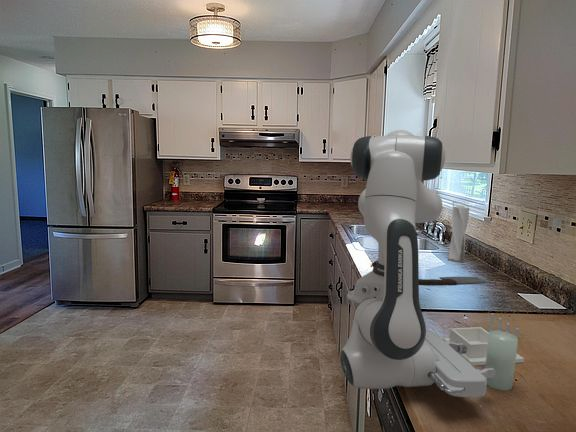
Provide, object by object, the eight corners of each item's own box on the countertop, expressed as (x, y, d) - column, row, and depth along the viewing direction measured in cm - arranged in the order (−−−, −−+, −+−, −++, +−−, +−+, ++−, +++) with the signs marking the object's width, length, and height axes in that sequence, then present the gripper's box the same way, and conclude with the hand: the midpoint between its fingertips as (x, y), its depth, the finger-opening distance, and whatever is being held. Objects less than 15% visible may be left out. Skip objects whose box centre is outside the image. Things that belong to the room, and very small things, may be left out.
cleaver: (422, 288, 146) (422, 282, 146) (408, 279, 156) (409, 274, 155) (489, 284, 153) (489, 279, 152) (472, 277, 162) (472, 272, 162)
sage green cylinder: (480, 383, 84) (485, 336, 83) (487, 373, 88) (492, 328, 87) (508, 394, 81) (514, 344, 79) (514, 382, 85) (520, 335, 83)
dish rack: (470, 365, 91) (473, 334, 90) (443, 341, 103) (445, 313, 102) (523, 362, 93) (527, 331, 92) (490, 339, 105) (493, 311, 104)
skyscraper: (444, 259, 187) (449, 202, 182) (450, 256, 193) (455, 200, 188) (462, 263, 181) (468, 203, 177) (467, 259, 187) (473, 202, 183)
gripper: (446, 377, 70) (514, 372, 72) (398, 327, 90) (453, 325, 92) (443, 408, 71) (510, 403, 73) (396, 352, 91) (451, 349, 93)
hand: (478, 359), depth 83 cm, fingers open, 8 cm apart
